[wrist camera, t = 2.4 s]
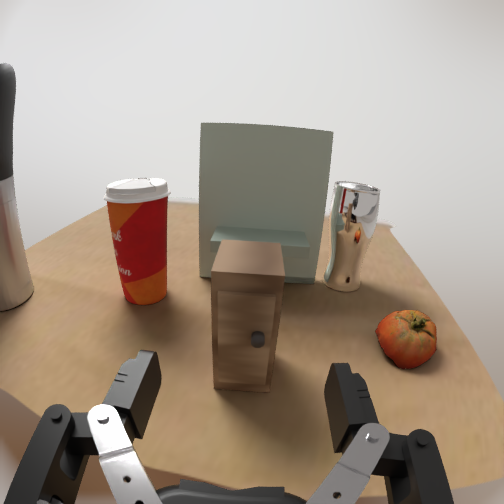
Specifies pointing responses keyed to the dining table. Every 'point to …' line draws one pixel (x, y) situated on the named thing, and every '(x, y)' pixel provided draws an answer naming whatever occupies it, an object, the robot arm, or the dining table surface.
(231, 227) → the wall board
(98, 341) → the dining table surface
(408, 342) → the tomato
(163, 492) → the robot arm
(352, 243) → the beer glass
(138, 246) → the coffee cup
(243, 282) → the cabinet
